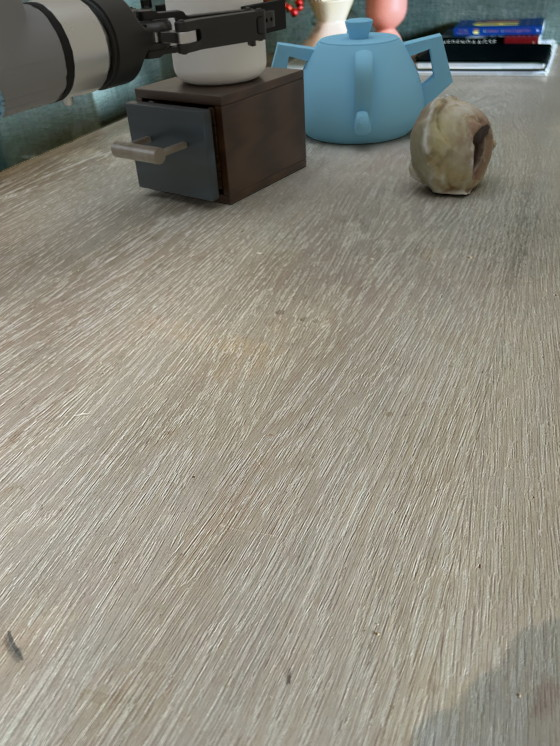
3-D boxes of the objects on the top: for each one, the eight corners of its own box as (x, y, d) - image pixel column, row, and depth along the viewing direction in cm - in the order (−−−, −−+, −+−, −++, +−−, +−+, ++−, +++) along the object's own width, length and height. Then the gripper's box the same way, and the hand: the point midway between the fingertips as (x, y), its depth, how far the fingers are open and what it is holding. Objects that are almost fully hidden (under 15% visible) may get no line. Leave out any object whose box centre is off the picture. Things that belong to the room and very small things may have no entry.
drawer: (180, 217, 66) (167, 124, 61) (105, 200, 71) (88, 113, 66) (286, 165, 78) (282, 84, 73) (216, 154, 84) (208, 77, 79)
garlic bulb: (421, 219, 71) (398, 134, 65) (412, 180, 77) (389, 99, 71) (512, 191, 69) (497, 100, 62) (495, 153, 75) (479, 66, 68)
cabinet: (230, 204, 71) (220, 97, 65) (150, 188, 77) (133, 88, 71) (306, 166, 81) (303, 69, 75) (230, 154, 87) (221, 63, 81)
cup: (182, 72, 77) (170, -29, 72) (269, 67, 77) (263, -35, 71) (168, 90, 69) (152, -23, 63) (265, 85, 68) (258, -29, 63)
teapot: (453, 126, 92) (462, 12, 84) (357, 159, 82) (358, 34, 74) (351, 107, 105) (351, 7, 97) (257, 134, 95) (249, 25, 87)
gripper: (11, 82, 65) (165, 46, 80) (190, 102, 54) (331, 56, 69) (-11, -5, 61) (155, -26, 76) (177, -5, 50) (331, -30, 64)
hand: (239, 13), depth 72 cm, fingers open, 11 cm apart
